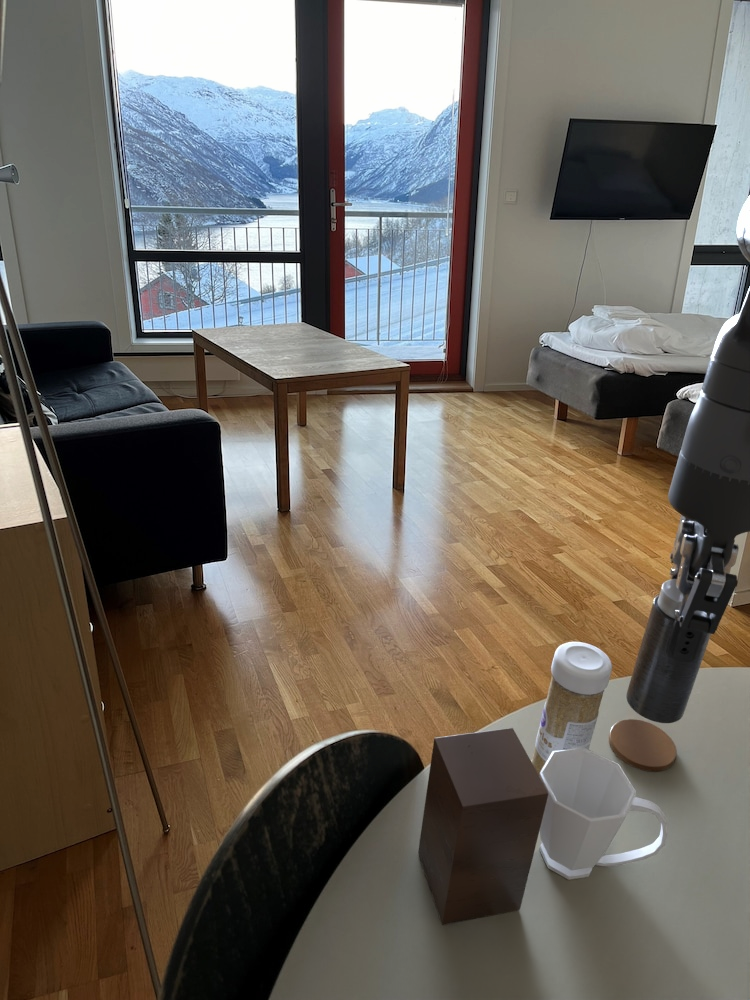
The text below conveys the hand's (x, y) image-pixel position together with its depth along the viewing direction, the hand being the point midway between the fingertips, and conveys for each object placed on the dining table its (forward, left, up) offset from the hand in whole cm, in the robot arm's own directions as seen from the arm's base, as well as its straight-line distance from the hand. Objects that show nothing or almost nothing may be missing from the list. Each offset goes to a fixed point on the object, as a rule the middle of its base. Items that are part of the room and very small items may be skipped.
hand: (676, 636), depth 63 cm
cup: (+11, +10, -13) cm, 20 cm away
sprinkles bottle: (+10, +2, -13) cm, 17 cm away
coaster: (0, 0, -13) cm, 13 cm away
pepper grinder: (0, 0, -7) cm, 7 cm away
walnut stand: (+21, +10, -13) cm, 27 cm away
